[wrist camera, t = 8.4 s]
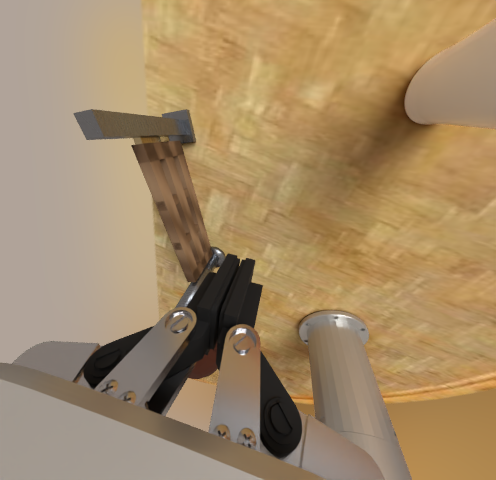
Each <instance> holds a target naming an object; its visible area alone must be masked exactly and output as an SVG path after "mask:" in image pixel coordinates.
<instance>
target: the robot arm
mask: <svg viewBox="0 0 496 480" xmlns="http://www.w3.org/2000/svg"><path fill="white" fill-rule="evenodd" d="M239 263H240V259H238V258H237V256H236V255H232V254H227V256H226V258H225V259H224V261H223V263H222V264H221V266H220V268H219V270H218V271H217V273H213V272H209V273H208V274H207V276H206V277H205V279H204V280H203V282H202V283H201V285H200V286H199V288H198V289H197V291H196V293H195V294H194V296H193V297H192V299H191V300H190V302H189V303H188V305H187V306H186V307H179V308H175V309H173V310H171V311H169V312H168V313H167V314H165V315H164V316H163V318H162V319H161V320H160V321H159V322H158V323H157V324H156V325H155V326H153V327H150V328H147V329H145V330H142V331H140V332H137V333H134V334H132V335H129V336H127V337H124V338H121V339H119V340H116V341H113V342H111V343H109V344H106V345H104V346H100V345H99V344H97V343H78V342H55V341H50V342H43V343H41V344H38V345H35V346H34V347H32V348H30V349H28V350H26V351H25V352H24V353H23V354H22V355H20V356H19V357H18V358H17V359H16V360H15V361H14V362H13V363H12V364H8V363H0V480H412V478H411V476H410V472H409V470H408V467H407V464H406V461H405V459H404V456H403V453H402V451H401V448H400V445H399V442H398V439H397V437H396V434H395V431H394V428H393V425H392V423H391V420H390V417H389V414H388V412H387V409H386V406H385V403H384V401H383V398H382V395H381V392H380V390H379V387H378V384H377V381H376V378H375V376H374V373H373V370H372V367H371V364H370V362H369V359H368V356H367V353H366V351H365V348H364V344H365V343H366V342H367V340H368V338H369V332H368V329H367V327H366V325H365V323H364V322H363V321H362V320H361V319H360V318H358V317H356V316H355V315H352V314H350V313H347V312H342V311H335V310H326V311H320V312H316V313H313V314H311V315H308V316H307V317H305V318H304V319H303V320H302V321H301V323H300V325H299V335H300V338H301V339H302V341H303V342H304V343H305V344H307V345H308V349H309V359H310V369H311V379H312V389H313V399H314V409H315V418H314V417H312V416H311V415H308V416H307V415H305V414H304V413H302V412H300V411H299V410H298V409H297V407H296V405H295V404H294V402H293V401H292V399H291V397H290V396H289V394H288V393H287V391H286V390H285V388H284V386H283V385H282V383H281V382H280V380H279V379H278V377H277V375H276V374H275V372H274V371H273V369H272V368H271V366H270V364H269V363H268V361H267V360H266V358H265V356H264V355H263V353H262V352H261V350H260V337H259V335H258V333H257V332H256V331H255V329H254V326H255V321H256V316H257V311H258V306H259V301H260V296H261V292H262V287H263V285H260V284H256V283H252V282H251V280H252V275H253V270H254V265H255V260H253V259H249V258H246V260H242V261H241V264H240V266H239ZM216 343H217V353H216V365H217V367H218V370H219V377H218V383H217V388H216V394H215V400H214V405H213V410H212V416H211V422H210V427H209V433H208V432H205V431H203V430H200V429H198V428H195V427H192V426H190V425H187V424H184V423H182V422H179V421H176V420H173V419H171V418H168V417H166V414H167V412H168V410H169V409H170V407H171V405H172V403H173V402H174V400H175V399H176V397H177V395H178V394H179V392H180V390H181V389H182V387H183V385H184V383H185V381H186V380H187V378H188V377H189V375H190V373H191V372H192V370H193V368H194V366H195V364H196V362H197V361H199V360H201V359H203V357H204V354H205V355H208V353H209V351H210V349H213V350H214V348H215V346H216Z"/></svg>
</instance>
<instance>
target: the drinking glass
mask: <svg viewBox="0 0 496 480" xmlns="http://www.w3.org/2000/svg"><path fill="white" fill-rule="evenodd" d="M404 106H405V111H406V113H407V115H408V117H409V118H410V119H411V120H412V121H414V122H416V123H419V124H443V125H455V126H466V127H476V128H486V129H496V18H495V19H493V20H492V21H490V22H489V23H487V24H485V25H484V26H482V27H481V28H479V29H478V30H476V31H475V32H473V33H472V34H470V35H468V36H467V37H465V38H464V39H462V40H461V41H459V42H457V43H456V44H454V45H452V46H450V47H448V48H446V49H444V50H443V51H441V52H439V53H438V54H436V55H435V56H433V57H432V58H431V59H429V60H428V61H427V62H426V63H425V64H424V65H423V66H422V67H421V68H420V69H419V70H418V72H417V73H416V74H415V76H414V77H413V79H412V80H411V82H410V84H409V86H408V89H407V91H406V95H405V101H404Z"/></svg>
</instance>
